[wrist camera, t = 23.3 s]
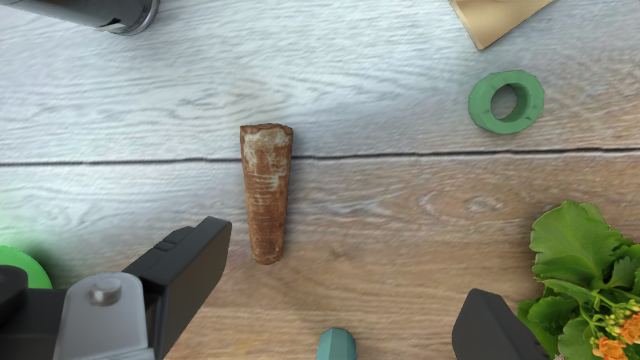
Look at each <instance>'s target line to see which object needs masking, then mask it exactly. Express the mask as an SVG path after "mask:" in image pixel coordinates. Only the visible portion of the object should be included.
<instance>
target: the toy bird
mask: <svg viewBox="0 0 640 360" xmlns="http://www.w3.org/2000/svg"><path fill="white" fill-rule="evenodd" d="M0 265H12V266H16V267H19V268H21V269H23V270H25V271H26V272H27V274H28V286H29V288H43V289H53V288H52V284H51V282H50V279H49V277H48V275H47V274H46V272H45V271H44V269H43V268H42V267H41V265H40V264H39V263H38V262H37V261H36V260H34V259H33V258H32V257H30V256H29V255H27V254H26V253H24V252H22V251H20V250H17V249H15V248H12V247H8V246H4V245H0Z"/></svg>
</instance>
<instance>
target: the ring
mask: <svg viewBox="0 0 640 360" xmlns="http://www.w3.org/2000/svg"><path fill="white" fill-rule="evenodd" d="M505 84H507V85H509V86H511V87H513V89H514V90H515V92H516V94H517V105H516V107H515V108H514V110H513V112H512V113H511V114H510V115H508V116H507V117H505V118H503V119H499V120H498V119H496V118H495V117H494V115H493V113H492V112H491V99H492V97H493V95H494V93H495V92H496V90H497V89H499V88H500V87H502V86H504V85H505ZM543 105H544V90H543V88H542V86H541V84H540V83H539V81H538V79H537V78H536V77H535V76H533V75H531V74H529V73H527V72H525V71H522V70H516V71H508V72H499V73H492V74H490V75H488V76H487V77H485V78H484V79H482V80H481V81H479V82H478V83H477V84H476V86H475V87H474V89H473V91H472V93H471V95H470V96H469V114H470V115H471V117H472V119H473V120H474V122H475V123H476V124H477V125H478V126H480V127H483V128H485V129H487V130H489V131H493V132H496V133H499V134H507V133H517V132H520V131H521V130H523V129H525V128H526V127H528V126H529V125H531V124H533V123H534V122H535V120H536V118H537V117H538V115H539V114H540V112H541V111H542V109H543Z"/></svg>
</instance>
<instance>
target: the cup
mask: <svg viewBox="0 0 640 360" xmlns="http://www.w3.org/2000/svg"><path fill="white" fill-rule="evenodd" d="M316 360H357V357H356V348H355V340H354V339H353V337H352V336H351V335H350V334H349V333H348V331H347V330H343V329H337V328H331V329H330V330H328V331H326V332H324V333H323V334H322V336H321V340H320V344H319V348H318V352H317V356H316Z"/></svg>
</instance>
